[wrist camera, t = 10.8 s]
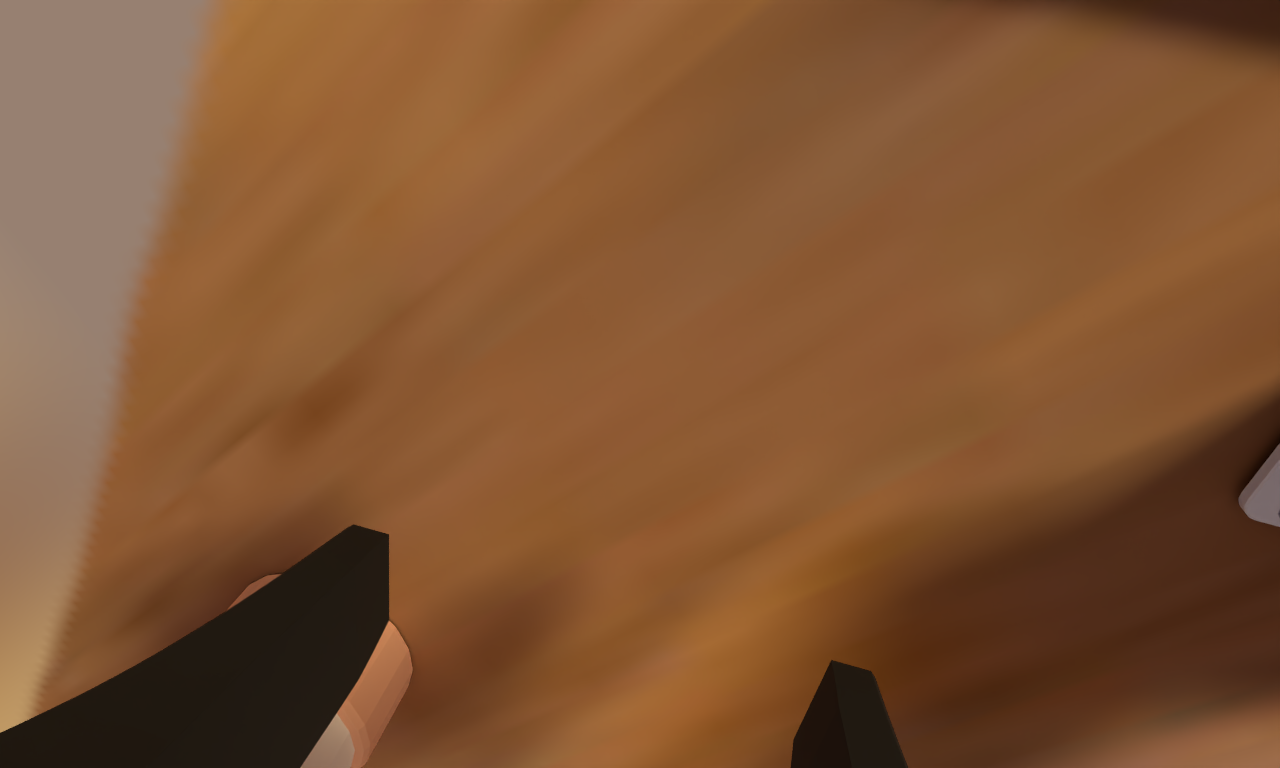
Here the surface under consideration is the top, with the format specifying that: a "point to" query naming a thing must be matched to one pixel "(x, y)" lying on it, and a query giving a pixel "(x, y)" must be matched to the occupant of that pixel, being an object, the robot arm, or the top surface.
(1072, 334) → the top surface
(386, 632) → the salt shaker
